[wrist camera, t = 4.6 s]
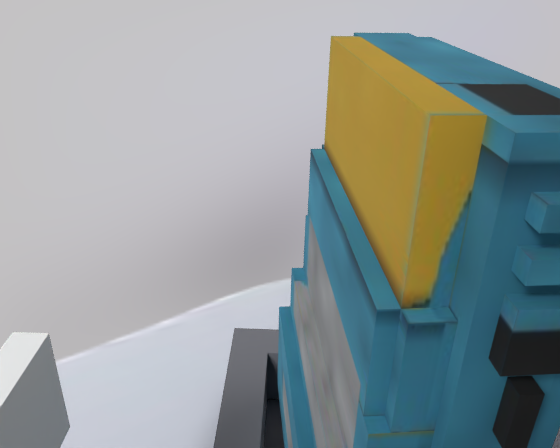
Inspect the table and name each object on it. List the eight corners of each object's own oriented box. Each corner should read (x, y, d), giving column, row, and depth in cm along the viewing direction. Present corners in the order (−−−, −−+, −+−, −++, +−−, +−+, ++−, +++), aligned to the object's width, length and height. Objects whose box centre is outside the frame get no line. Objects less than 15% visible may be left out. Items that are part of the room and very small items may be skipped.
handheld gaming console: (473, 737, 13) (723, 142, 6) (304, 754, 12) (362, 144, 6) (375, 420, 21) (430, 31, 15) (274, 425, 21) (283, 30, 14)
